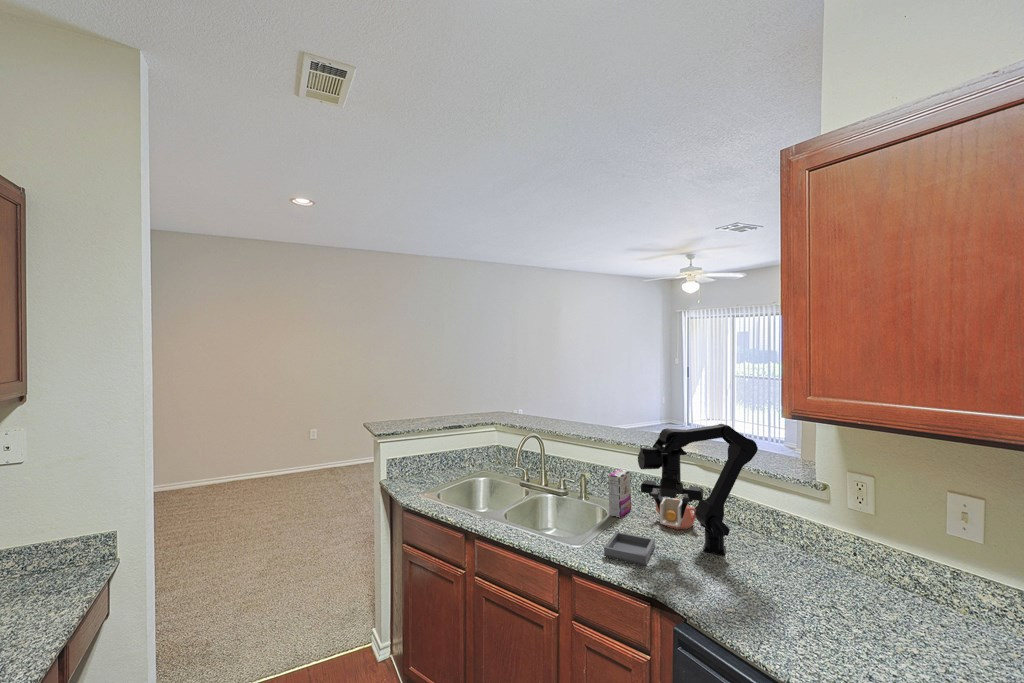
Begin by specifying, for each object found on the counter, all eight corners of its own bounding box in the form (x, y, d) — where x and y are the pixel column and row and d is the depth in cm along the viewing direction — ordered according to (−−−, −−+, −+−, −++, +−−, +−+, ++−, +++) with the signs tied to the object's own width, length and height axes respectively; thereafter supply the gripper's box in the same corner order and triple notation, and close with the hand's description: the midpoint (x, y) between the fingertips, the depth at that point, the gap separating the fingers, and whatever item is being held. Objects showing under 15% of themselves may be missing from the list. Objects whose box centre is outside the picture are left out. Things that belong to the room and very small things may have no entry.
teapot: (693, 535, 157) (693, 508, 157) (645, 522, 169) (644, 497, 169) (704, 524, 166) (704, 499, 166) (657, 513, 178) (657, 489, 178)
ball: (667, 508, 145) (665, 511, 143) (677, 510, 144) (675, 513, 141) (666, 517, 145) (665, 521, 143) (677, 519, 144) (675, 523, 141)
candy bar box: (620, 507, 184) (619, 468, 185) (631, 510, 181) (631, 470, 182) (608, 516, 176) (608, 474, 176) (620, 518, 173) (619, 476, 173)
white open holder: (664, 515, 149) (664, 497, 149) (683, 518, 146) (683, 500, 147) (660, 523, 142) (659, 504, 142) (679, 527, 139) (679, 507, 140)
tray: (616, 540, 153) (616, 531, 153) (654, 548, 147) (654, 539, 147) (604, 557, 141) (604, 547, 141) (645, 566, 135) (645, 556, 135)
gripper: (636, 470, 142) (637, 519, 142) (699, 478, 133) (700, 530, 133) (644, 462, 152) (644, 508, 152) (702, 469, 143) (703, 518, 143)
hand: (671, 516), depth 144 cm, fingers closed on white open holder, 6 cm apart
